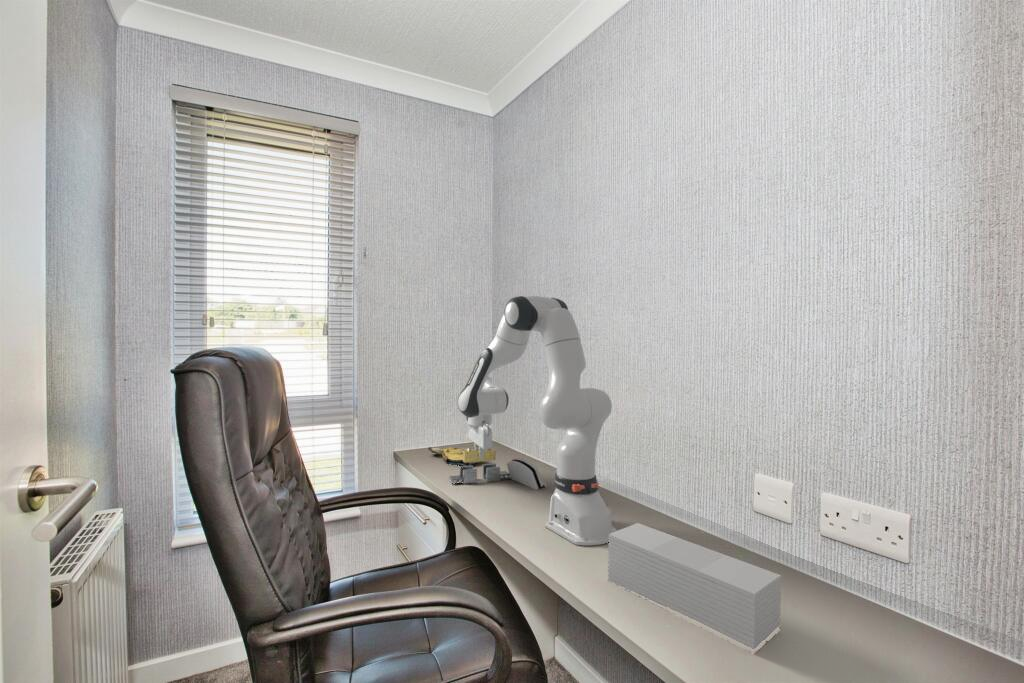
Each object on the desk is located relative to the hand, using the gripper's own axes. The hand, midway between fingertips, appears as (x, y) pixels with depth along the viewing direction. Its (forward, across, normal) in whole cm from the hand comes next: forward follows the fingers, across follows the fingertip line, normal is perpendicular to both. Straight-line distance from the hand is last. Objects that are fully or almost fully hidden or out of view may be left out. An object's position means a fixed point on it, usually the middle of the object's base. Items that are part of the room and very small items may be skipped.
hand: (479, 456), depth 183 cm
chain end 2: (+9, 0, -7) cm, 12 cm away
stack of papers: (+9, -95, -15) cm, 96 cm away
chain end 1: (+9, 0, +7) cm, 11 cm away
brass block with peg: (+2, 0, 0) cm, 2 cm away
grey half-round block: (+9, -9, -15) cm, 20 cm away
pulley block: (+10, +32, +2) cm, 33 cm away
